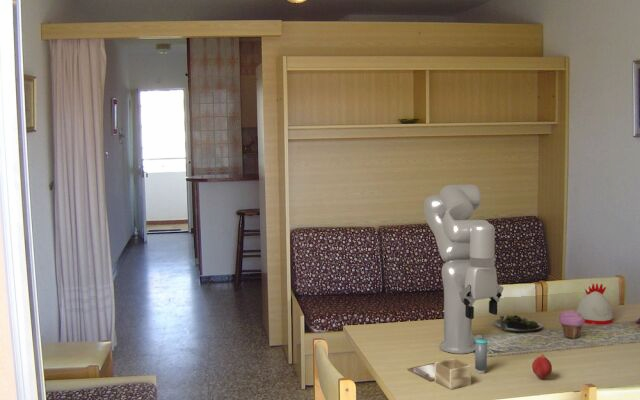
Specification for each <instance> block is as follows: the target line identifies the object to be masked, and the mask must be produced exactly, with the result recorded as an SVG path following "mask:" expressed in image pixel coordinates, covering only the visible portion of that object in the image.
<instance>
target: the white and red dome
mask: <svg viewBox="0 0 640 400" xmlns="http://www.w3.org/2000/svg"><path fill="white" fill-rule="evenodd" d="M591 285H592V286H588V291H587V289H585V288H584V291H585V295H584V296H583V297H582V298H581V300H579V302H578V305H577V308H576V311H577V312H579V313H580V314H581V315H582V316H583V317H584V320H585V322H584V324H588V325H597V326H599V325H600V326H603V325H604V326H605V325H610V324H612V323H614V315H613V310H612V307H611V305H610V301H609V300H608V298H607V297H606V296H605V295H604V293H605V291H606V289H607V287H606V286H604V287H603V283H600V285H599V284H598V283H596V284H595V283H592V284H591Z"/></svg>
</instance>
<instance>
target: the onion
mask: <svg viewBox="0 0 640 400" xmlns="http://www.w3.org/2000/svg"><path fill="white" fill-rule="evenodd" d="M531 367H532V372H533V374H535V376H537V377H538V378H539V379H540V380H544V379H546V378H547V377H548V376H550V375H551V373H552V371H553V367H552V363H551V361H550V360H549V359H548V358H547V357H545V354H544V353H542V354H541V355H540V356H537V357H536V358H535V359H534V360H533V362H532V366H531Z"/></svg>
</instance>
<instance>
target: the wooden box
mask: <svg viewBox="0 0 640 400" xmlns="http://www.w3.org/2000/svg"><path fill="white" fill-rule="evenodd" d="M434 363H435V362H434ZM434 382H435V383H436V384H439V385H440V386H443V387H444V388H446V389H449V390H450V391H453V390H456V389H461V388H465V387H468V386H469V387H470V386H471V385H472V365H471V364H468V363H465V362H464V361H461V360H459V359H456V358H450V359H445V361H444V360H441V362H440V361H436V363H435V381H434Z"/></svg>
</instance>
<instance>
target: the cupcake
mask: <svg viewBox="0 0 640 400" xmlns="http://www.w3.org/2000/svg"><path fill="white" fill-rule="evenodd" d="M558 318H559V321H558V322H559V323H560V325H561V327H562V333H563V336H564V337H565V338H570V339H576V338H578V337H580V336H581V332H582V327H583V326H584V325H585V323H584V322H585V320H584V317H583V316H582V315H581V314H580V313H579V312H577V310H563V311H562V312H561V313H560V314H559V317H558Z"/></svg>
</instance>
